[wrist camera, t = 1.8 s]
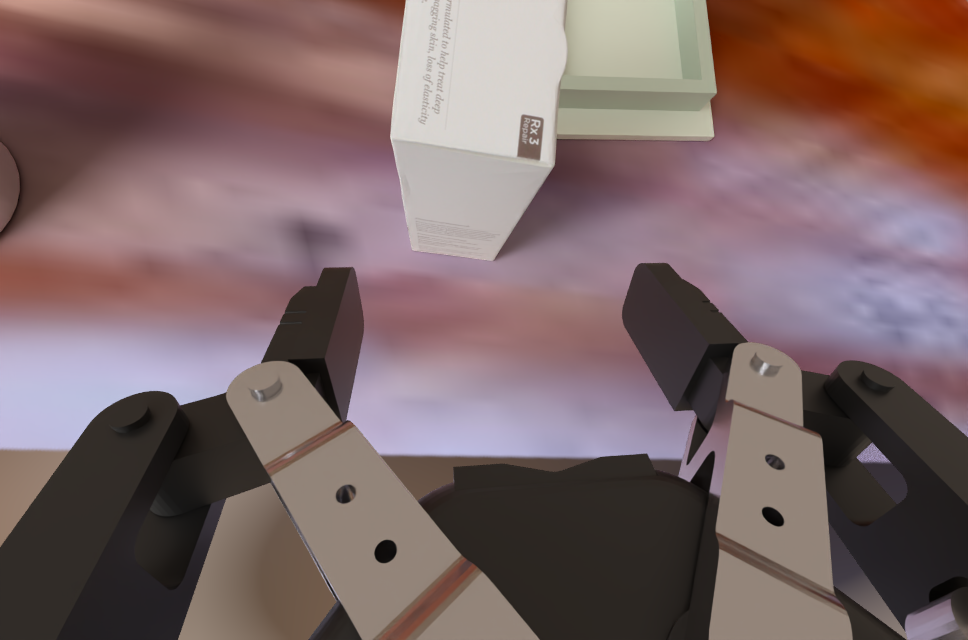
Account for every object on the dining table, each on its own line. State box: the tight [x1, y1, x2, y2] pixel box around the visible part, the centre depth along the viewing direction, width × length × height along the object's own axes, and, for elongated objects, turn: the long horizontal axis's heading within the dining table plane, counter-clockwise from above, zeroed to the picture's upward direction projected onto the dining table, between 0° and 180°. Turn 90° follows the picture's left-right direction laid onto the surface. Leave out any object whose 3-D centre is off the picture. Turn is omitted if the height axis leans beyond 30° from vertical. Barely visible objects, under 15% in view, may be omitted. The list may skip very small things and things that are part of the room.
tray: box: [557, 0, 717, 141], centre depth 30 cm, size 14×18×3 cm
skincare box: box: [390, 0, 568, 261], centre depth 21 cm, size 8×6×15 cm
